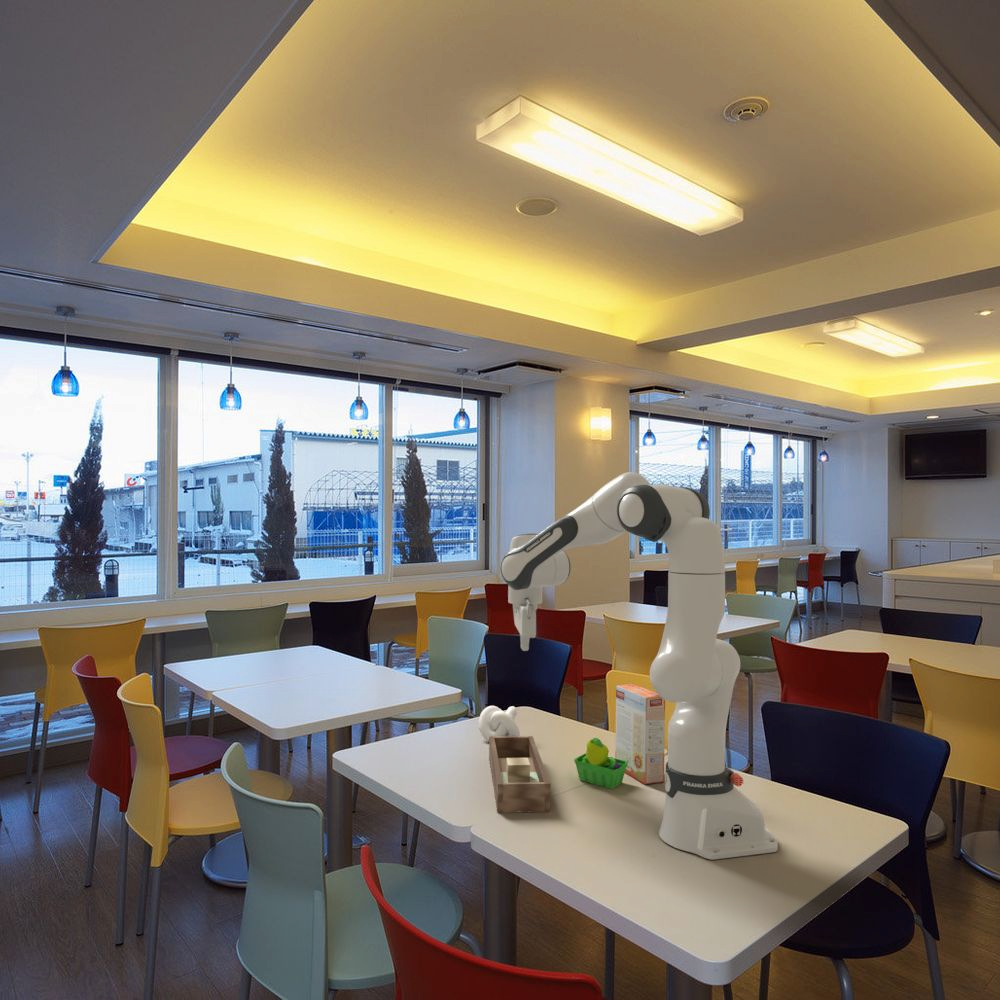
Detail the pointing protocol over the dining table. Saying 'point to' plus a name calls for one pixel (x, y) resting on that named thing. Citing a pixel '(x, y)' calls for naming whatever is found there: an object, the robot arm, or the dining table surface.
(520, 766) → the maple block
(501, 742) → the trap lane
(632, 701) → the cracker box
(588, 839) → the dining table surface
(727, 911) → the dining table surface
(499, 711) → the white rounded piece
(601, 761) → the fruit basket
